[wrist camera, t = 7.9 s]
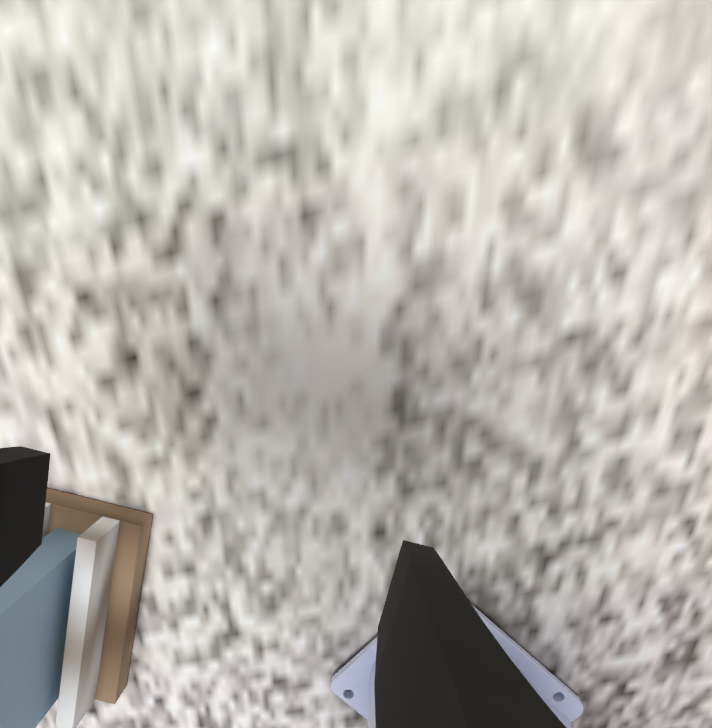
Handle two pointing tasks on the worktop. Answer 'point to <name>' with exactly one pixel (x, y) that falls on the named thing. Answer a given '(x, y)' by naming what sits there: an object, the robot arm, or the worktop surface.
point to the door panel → (35, 630)
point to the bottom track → (98, 598)
